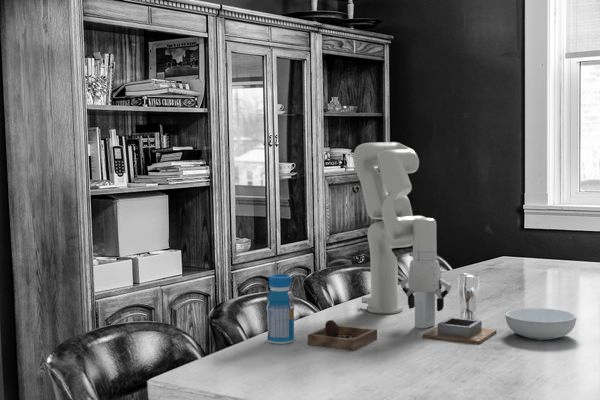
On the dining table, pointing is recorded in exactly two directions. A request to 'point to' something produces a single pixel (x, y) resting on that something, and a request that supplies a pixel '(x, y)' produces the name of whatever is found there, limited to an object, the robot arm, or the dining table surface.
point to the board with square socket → (460, 331)
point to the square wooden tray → (360, 334)
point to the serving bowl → (540, 322)
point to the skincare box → (424, 309)
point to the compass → (333, 330)
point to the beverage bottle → (280, 310)
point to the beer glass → (468, 295)
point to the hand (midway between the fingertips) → (425, 309)
